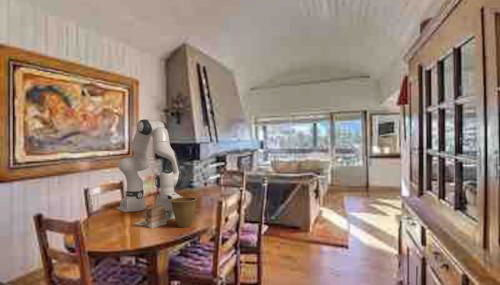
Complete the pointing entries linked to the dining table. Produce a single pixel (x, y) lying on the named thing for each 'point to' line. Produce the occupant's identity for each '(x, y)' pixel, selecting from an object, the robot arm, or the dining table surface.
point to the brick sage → (168, 215)
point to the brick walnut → (155, 211)
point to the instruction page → (140, 223)
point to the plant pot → (184, 210)
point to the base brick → (155, 221)
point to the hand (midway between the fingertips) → (167, 216)
